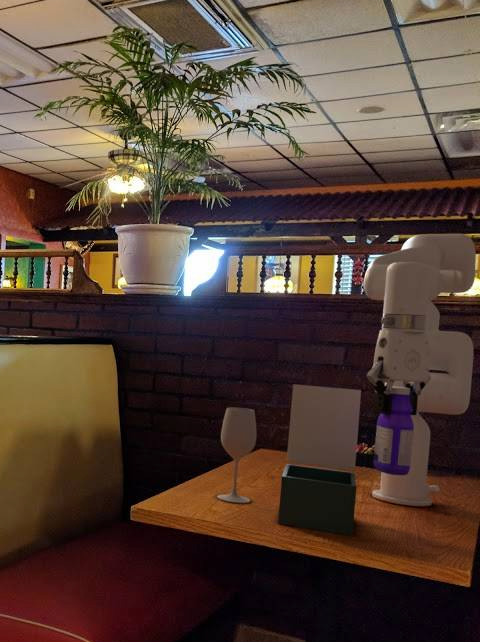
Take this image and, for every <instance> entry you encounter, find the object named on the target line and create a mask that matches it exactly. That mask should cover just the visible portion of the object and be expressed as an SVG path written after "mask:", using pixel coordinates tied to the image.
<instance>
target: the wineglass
mask: <svg viewBox="0 0 480 642" xmlns="http://www.w3.org/2000/svg"><path fill="white" fill-rule="evenodd" d="M220 441H221V442H220V443H221V445H222V447H223V449H224V450H225V452H226V453H227V454H228V455H229V456H230V457H231V458H232V459H233V461H234V462H233V463H234V467H233V480H232V481H233V482H232V489H231V491H230V493H227V494H218V495H217V496H216V497H217V499H218V500H220V501H223V502H226V503H231V504H233V503H234V504H249V503H251V499H249V498H248V497H245V496H242V495H239V493H238V492H237V482H238V470H239V462H240V461H241V460H242V459H243V458H245V457H246V456H248V455H249V454H250V453H251V452H252V451H253V450H254V449H255V446H256V442H257V422H256V413H255V409H252V408H246V407H232V406H231V407H230V406H229V407H226V409H225V414H224V416H223V421H222V427H221V430H220Z"/></svg>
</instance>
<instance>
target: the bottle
mask: <svg viewBox="0 0 480 642" xmlns="http://www.w3.org/2000/svg"><path fill="white" fill-rule="evenodd" d="M389 395H392V408H391V414H390V415H386V414H380V413H379V416H378V418H377V421H376V432H375V442H374V452H373V460H372V461H373V463H372V464H373V468H374V469H375V470H377V471H379V472H384V473H387V474H392V475H407V474H408V472H409V470H410V462H411V452H412V440H413V430H414V424H413V420H412V418H411V413H412V412H413V409H412V407H411V405H410V388H405V387H395V386H393V387H392V389H391V392H390V394H389Z"/></svg>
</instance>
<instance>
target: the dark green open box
mask: <svg viewBox="0 0 480 642" xmlns="http://www.w3.org/2000/svg"><path fill="white" fill-rule="evenodd" d="M280 481H281V482H280V492H279V493H280V494H279V507H278V521H277V524H278V525H279V524H280V525H283V526H284V525H285V526H291V527H297V528H303V529H310V530H316V531H321V532H327V533H334V534H340V535H346V536H353V533H354V522H355V510H356V498H357V479H356V474H355V472H352V471H344V470H336V469H331V468H329V469H328V468H323V467H315V466H314V467H313V466H305V465H299V464H298V465H297V464H289V463H286V465H285V467H284V470H283V472H282V475H281V480H280Z"/></svg>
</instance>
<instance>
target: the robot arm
mask: <svg viewBox="0 0 480 642" xmlns="http://www.w3.org/2000/svg"><path fill="white" fill-rule="evenodd" d="M476 253H477V252H476V246H475V243H474V241H473V239H472V238H471V237H470V236H469V235H466V234H465V233H426V234H425V233H423V234H417V235H414V236H411V237H410V238H408V239H407V240H406V241H405V242H404V243H403V245H402V247H401V249H400V250H397V251H393V252H390V253H386V254H382V255H380V256H377V257H375V258H374V259H373V260H371V262H370V264H369V266H368V267H367V270H366V271H365V275H364V278H363V291H364V293H365V295H366V297H368V298H369V299H371V300H374V301H375V300H376V301H383V310H382V318H381V319H380V324H381V329H380V330H379V333H378V335H377V341H376V345H375V350H374V357H373V365H372V367H371V369H370V370H369V371H368V372H367V373H366V378H367V379H368V381H369V382H370V384H371V386H372V387H373V388H374V393H376V402H375V403H376V404H375V413H376V414H379V415H380V414H386V415H390V414H391V408H392V395H389V394H390V392H391V389H392V387H393V386H395V387H405V388H410V405H411V407H412V409H413V412H412V413H411V418H412V420H413V424H414V430H413V440H412V452H411V462H410V470H409V472H408V474H407V475H392V474H387V473H384V472H381V471H380V472H381V474H380V485H379V489H374V490H372V492H371V493H372V495H371V496H372V497H373V498H374V499H377V500H379V501H383V502H387V503H391V504H396V505H401V506H408V507H409V506H410V507H430V506H432V505H433V499H432V498H430V497H429V495H430V494H439V493H440V491H441V489H440V486H439V485H430V484H429V483H427V478H428V475H427V474H428V467H429V466H428V465H429V455H430V445H431V429H430V427H429V425H428V423H427V422H426V421H425V419H424V418H423V417H422V416H421V415H420V413H432V414H443V415H463V414H464V413H465V412H466V411H467V410H468V408H469V405H470V401H471V390H472V377H473V365H474V343H473V340H472V338H471V336H470V335H469V334H467V333H464V332H461V331H449V330H439V329H440V328H439V327H440V317H441V314H440V311H439V310H438V308H437V307H436V305H435V304H434V303H433V302H432V301H434V300H435V299H436V298H438V297H439V295H440V294H442V293H443V294H463V293H465V292H468V291H470V290H471V288H472V287H473V285H474V283H475V279H476V264H477V263H476V261H477V259H476V257H477V254H476ZM430 370H433V371H444V372H447V373H441V372H430Z"/></svg>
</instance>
